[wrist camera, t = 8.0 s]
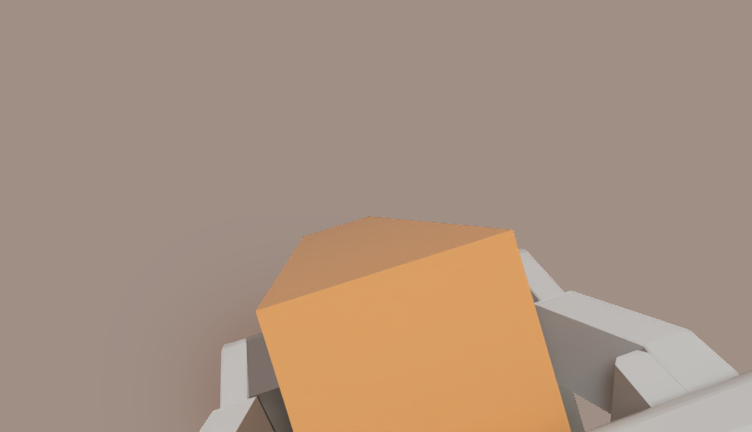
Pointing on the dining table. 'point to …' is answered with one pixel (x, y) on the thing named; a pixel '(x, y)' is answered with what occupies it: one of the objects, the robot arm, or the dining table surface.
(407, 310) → the orange block
